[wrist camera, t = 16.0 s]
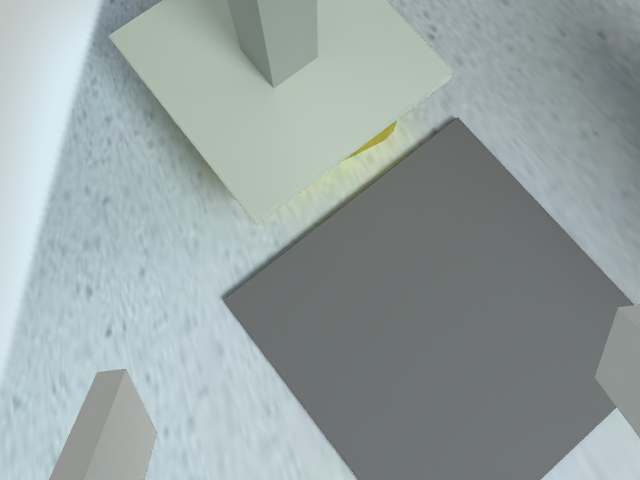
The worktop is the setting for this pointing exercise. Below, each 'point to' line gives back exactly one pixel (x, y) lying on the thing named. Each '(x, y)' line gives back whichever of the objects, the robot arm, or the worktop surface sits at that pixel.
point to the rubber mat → (439, 323)
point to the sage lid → (279, 84)
